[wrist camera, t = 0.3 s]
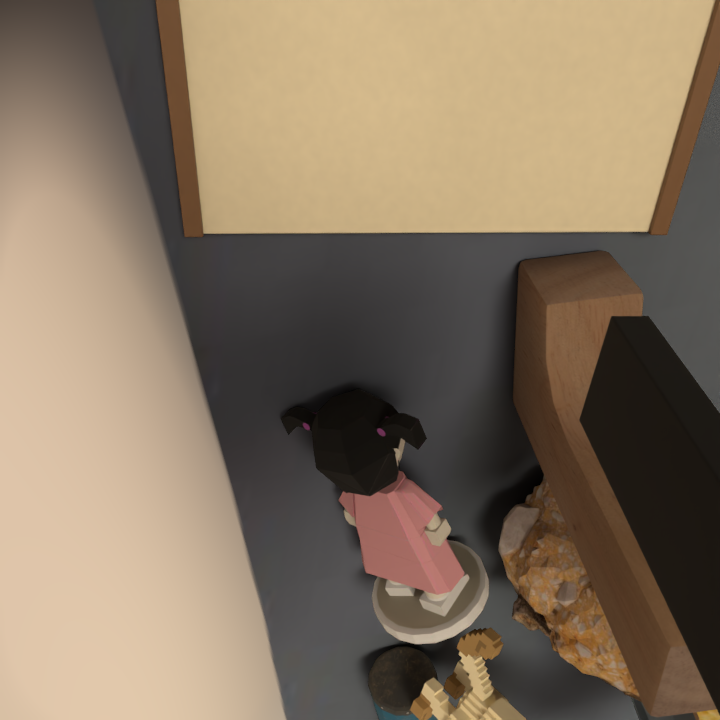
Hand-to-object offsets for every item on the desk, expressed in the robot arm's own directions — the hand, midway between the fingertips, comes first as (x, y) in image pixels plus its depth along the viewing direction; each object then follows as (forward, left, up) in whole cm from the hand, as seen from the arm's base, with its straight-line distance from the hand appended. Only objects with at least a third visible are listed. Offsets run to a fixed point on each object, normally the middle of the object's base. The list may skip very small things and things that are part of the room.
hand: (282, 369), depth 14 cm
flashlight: (+49, +9, -18) cm, 53 cm away
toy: (+27, +8, -14) cm, 32 cm away
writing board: (-1, +6, -18) cm, 19 cm away
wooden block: (+11, +14, -18) cm, 25 cm away
